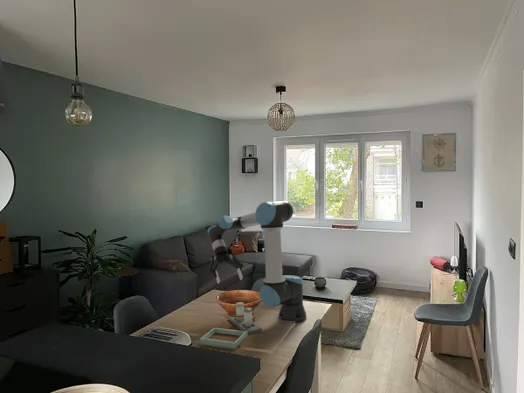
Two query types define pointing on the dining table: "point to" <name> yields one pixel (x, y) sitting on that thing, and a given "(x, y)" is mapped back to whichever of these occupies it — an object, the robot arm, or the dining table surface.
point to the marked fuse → (239, 311)
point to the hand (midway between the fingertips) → (230, 280)
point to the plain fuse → (247, 317)
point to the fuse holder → (240, 325)
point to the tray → (223, 344)
